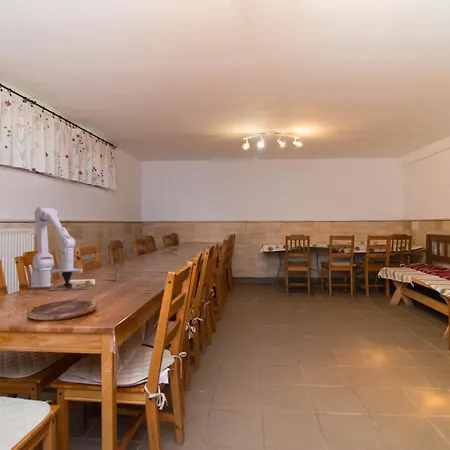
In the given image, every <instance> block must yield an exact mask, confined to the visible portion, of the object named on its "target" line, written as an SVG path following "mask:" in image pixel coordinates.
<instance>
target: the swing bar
mask: <svg viewBox="0 0 450 450" xmlns="http://www.w3.org/2000/svg"><path fill="white" fill-rule="evenodd" d="M70 280H71V279H70ZM70 280H69V286H68V287H70V288H76V284H75V283H72V282H70ZM63 285H64V286H66V283H65V280H64V279H63Z"/></svg>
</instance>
